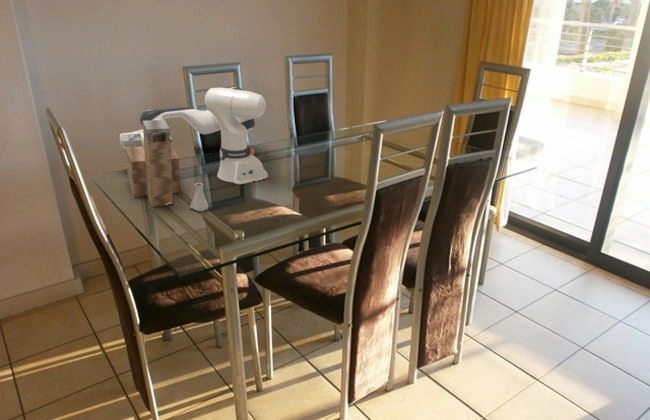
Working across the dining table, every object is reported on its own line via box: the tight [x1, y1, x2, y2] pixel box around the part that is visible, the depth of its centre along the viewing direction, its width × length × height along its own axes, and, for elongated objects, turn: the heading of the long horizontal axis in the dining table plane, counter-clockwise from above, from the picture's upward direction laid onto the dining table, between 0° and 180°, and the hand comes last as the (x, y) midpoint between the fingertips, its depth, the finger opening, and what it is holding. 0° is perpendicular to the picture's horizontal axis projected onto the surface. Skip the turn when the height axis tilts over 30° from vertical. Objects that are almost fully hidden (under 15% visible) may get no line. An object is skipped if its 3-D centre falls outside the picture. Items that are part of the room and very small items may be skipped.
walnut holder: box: [125, 119, 181, 208], centre depth 202 cm, size 18×26×31 cm
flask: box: [189, 182, 209, 212], centre depth 198 cm, size 7×7×10 cm
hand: (146, 134), depth 213 cm, fingers open, 8 cm apart
